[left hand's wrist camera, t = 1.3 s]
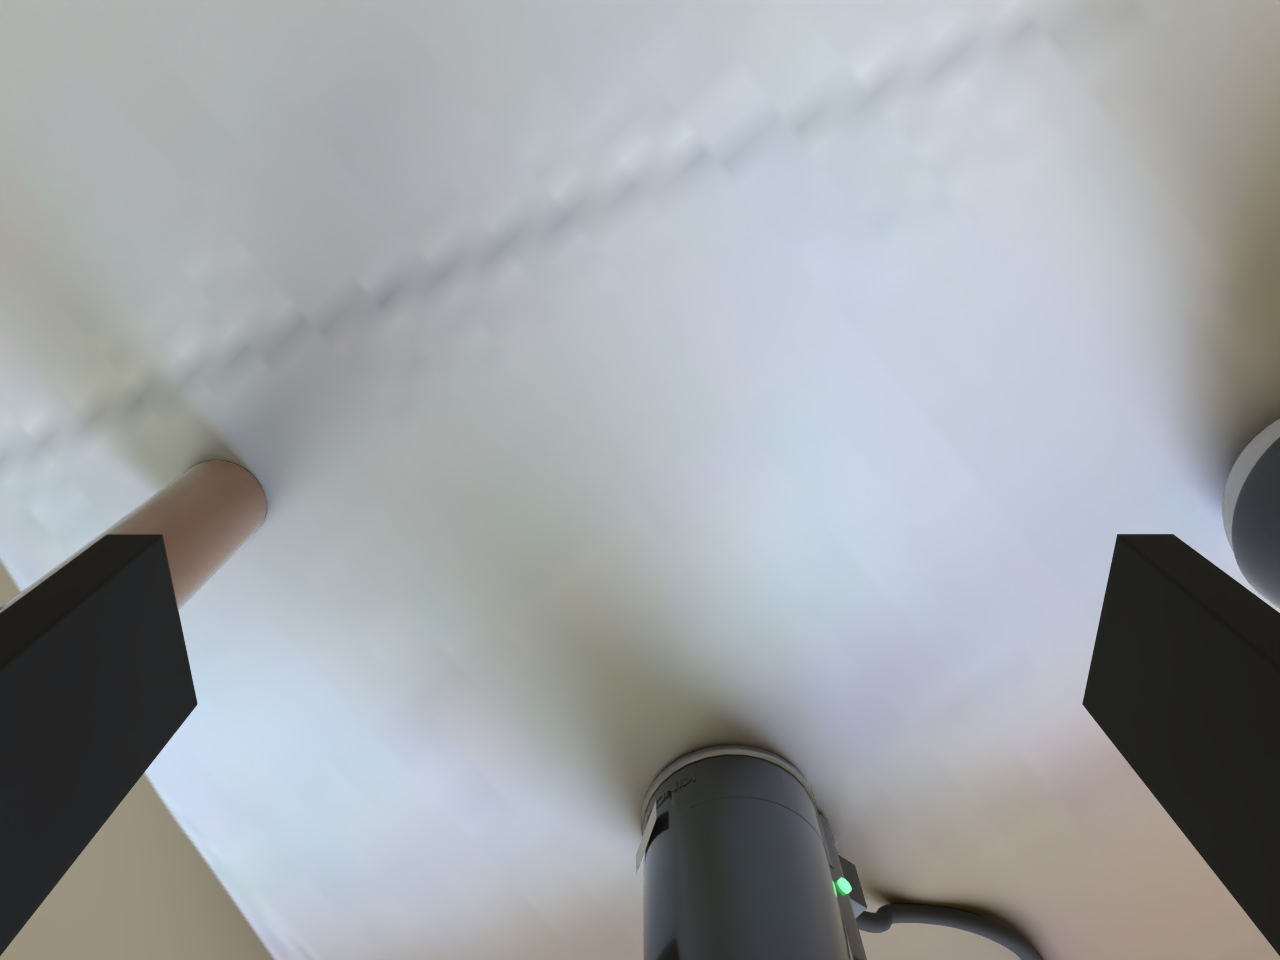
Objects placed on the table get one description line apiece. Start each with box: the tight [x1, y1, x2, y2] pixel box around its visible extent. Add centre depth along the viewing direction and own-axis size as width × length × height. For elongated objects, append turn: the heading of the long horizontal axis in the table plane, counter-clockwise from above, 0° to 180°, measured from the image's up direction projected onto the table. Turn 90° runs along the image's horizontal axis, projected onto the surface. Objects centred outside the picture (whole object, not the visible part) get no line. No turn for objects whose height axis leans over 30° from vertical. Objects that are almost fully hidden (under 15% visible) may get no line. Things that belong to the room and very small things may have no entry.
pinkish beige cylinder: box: [0, 460, 267, 613], centre depth 33 cm, size 4×4×19 cm
